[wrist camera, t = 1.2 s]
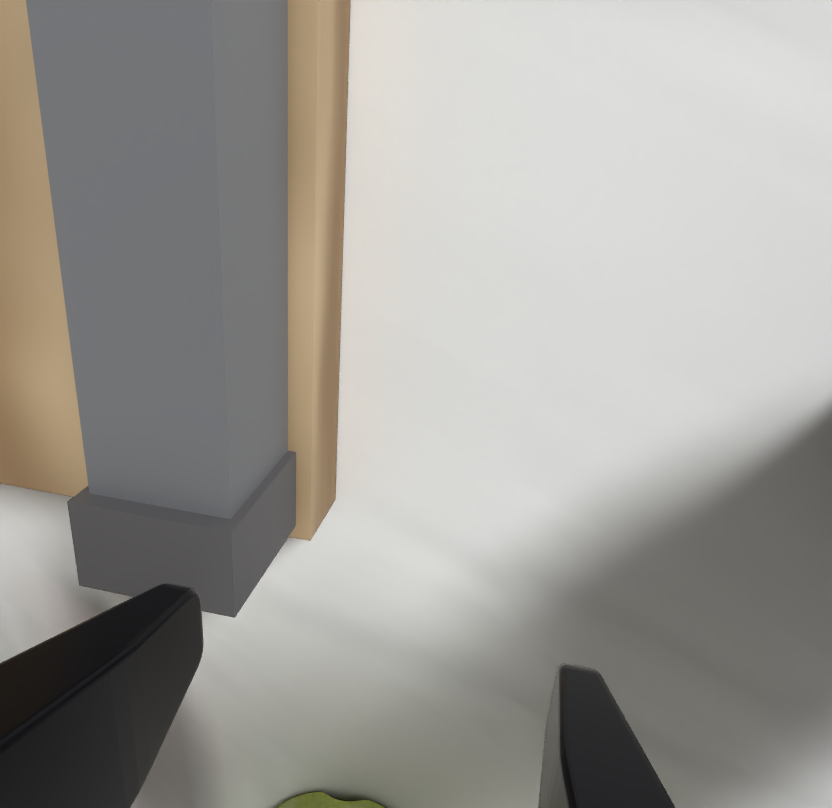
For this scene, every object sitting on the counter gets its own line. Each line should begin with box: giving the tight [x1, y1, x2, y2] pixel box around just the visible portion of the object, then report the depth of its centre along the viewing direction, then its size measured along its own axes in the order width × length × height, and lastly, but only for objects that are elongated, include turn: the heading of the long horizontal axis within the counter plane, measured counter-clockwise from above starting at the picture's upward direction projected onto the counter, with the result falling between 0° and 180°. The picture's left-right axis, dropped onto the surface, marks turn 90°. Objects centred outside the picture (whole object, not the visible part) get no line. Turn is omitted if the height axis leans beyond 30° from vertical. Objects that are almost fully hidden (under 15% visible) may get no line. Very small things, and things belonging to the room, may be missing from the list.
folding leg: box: [26, 0, 296, 618], centre depth 13 cm, size 15×3×4 cm, turn 176°
